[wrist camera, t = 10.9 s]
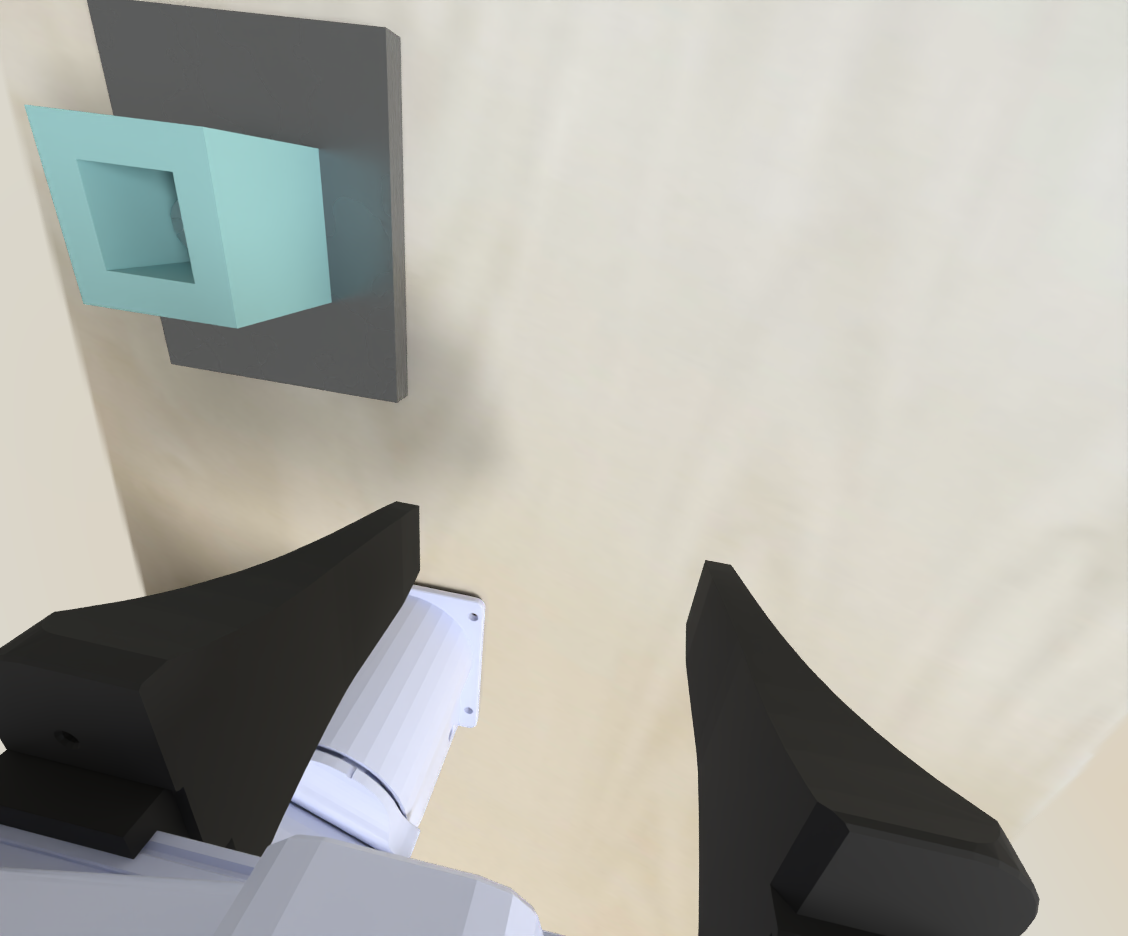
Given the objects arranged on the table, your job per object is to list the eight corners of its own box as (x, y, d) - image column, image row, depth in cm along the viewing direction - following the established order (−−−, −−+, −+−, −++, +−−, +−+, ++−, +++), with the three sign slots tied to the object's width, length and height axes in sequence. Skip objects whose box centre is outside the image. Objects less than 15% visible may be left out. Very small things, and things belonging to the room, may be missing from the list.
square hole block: (331, 302, 20) (237, 328, 15) (209, 283, 20) (83, 303, 16) (318, 148, 17) (202, 126, 13) (181, 131, 18) (24, 104, 13)
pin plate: (407, 395, 22) (360, 430, 18) (190, 357, 23) (104, 384, 19) (400, 37, 16) (330, -11, 13) (115, 6, 17) (-24, -47, 14)
